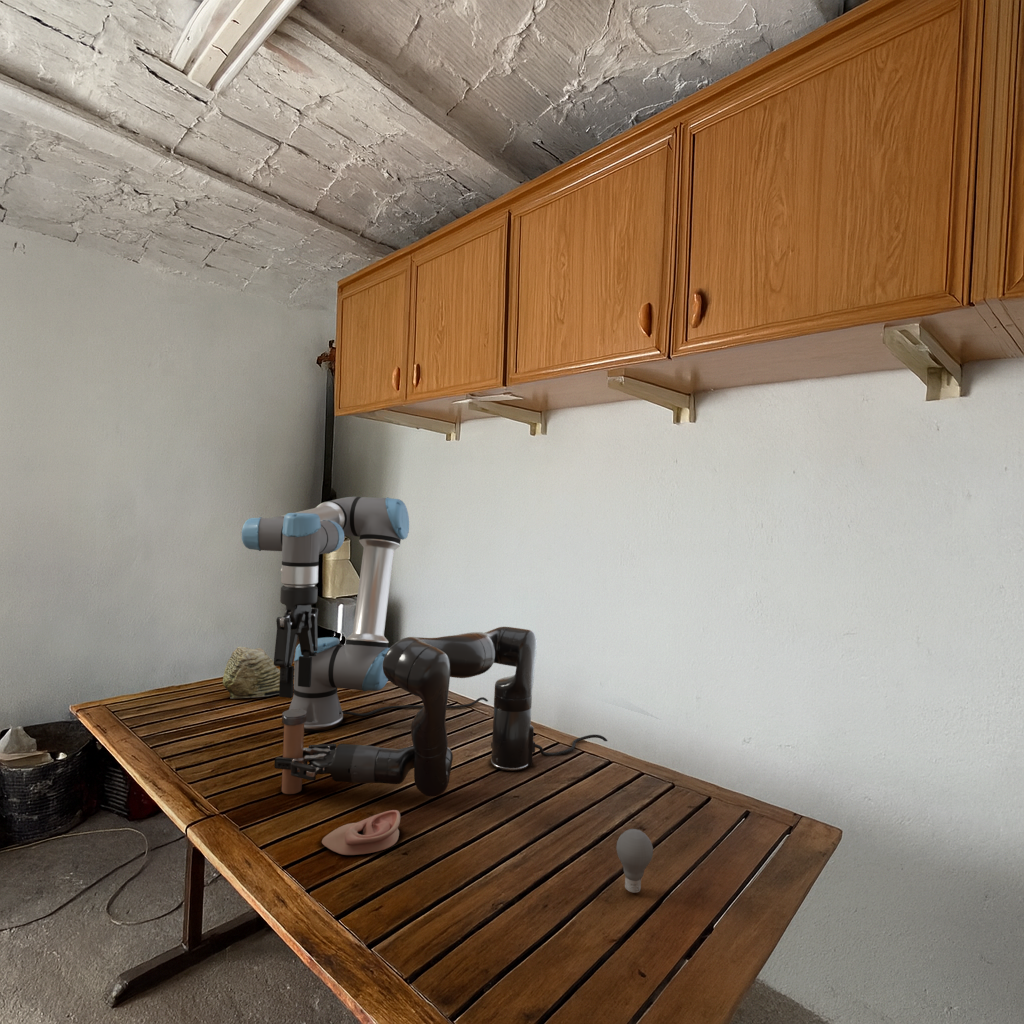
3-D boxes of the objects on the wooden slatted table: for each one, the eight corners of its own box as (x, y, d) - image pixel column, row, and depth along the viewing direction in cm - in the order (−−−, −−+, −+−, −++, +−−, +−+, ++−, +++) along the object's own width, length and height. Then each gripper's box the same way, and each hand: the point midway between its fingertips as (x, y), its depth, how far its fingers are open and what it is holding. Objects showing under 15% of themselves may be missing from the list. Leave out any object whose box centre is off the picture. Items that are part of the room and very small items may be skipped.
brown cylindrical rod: (277, 792, 135) (280, 716, 135) (288, 784, 139) (291, 710, 139) (294, 795, 134) (297, 719, 133) (305, 787, 138) (308, 713, 137)
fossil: (218, 695, 195) (220, 647, 195) (278, 685, 208) (279, 640, 207) (228, 703, 189) (230, 653, 188) (289, 692, 201) (290, 645, 201)
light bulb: (610, 879, 108) (613, 822, 108) (644, 879, 109) (647, 822, 109) (619, 902, 102) (622, 840, 102) (655, 901, 103) (658, 840, 103)
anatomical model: (313, 828, 113) (343, 799, 125) (313, 850, 113) (342, 819, 125) (383, 839, 111) (407, 808, 122) (382, 862, 111) (406, 829, 122)
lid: (277, 723, 134) (277, 714, 134) (290, 716, 139) (291, 707, 139) (297, 726, 133) (298, 717, 133) (310, 719, 138) (311, 710, 138)
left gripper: (306, 578, 146) (302, 677, 146) (256, 590, 126) (252, 704, 127) (336, 580, 145) (332, 680, 145) (291, 592, 125) (287, 707, 125)
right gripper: (368, 734, 142) (294, 729, 143) (348, 759, 128) (265, 754, 129) (367, 767, 142) (292, 761, 144) (346, 796, 128) (264, 790, 129)
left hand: (295, 691), depth 136 cm, fingers open, 7 cm apart
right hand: (280, 758), depth 136 cm, fingers closed on brown cylindrical rod, 4 cm apart
